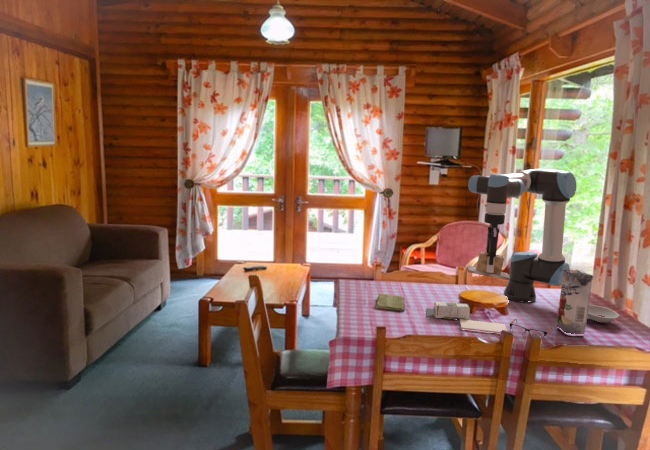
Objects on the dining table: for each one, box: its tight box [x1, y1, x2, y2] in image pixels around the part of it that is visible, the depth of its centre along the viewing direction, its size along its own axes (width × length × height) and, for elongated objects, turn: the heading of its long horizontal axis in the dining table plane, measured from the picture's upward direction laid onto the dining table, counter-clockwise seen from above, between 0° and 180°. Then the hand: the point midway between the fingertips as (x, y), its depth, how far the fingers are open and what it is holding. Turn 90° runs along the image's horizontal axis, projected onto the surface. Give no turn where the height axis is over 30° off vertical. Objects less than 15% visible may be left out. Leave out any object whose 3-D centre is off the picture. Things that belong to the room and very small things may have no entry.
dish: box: [587, 304, 620, 323], centre depth 225 cm, size 18×14×5 cm
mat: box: [425, 308, 446, 320], centre depth 225 cm, size 16×11×1 cm
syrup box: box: [432, 301, 471, 321], centre depth 221 cm, size 6×6×14 cm
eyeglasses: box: [509, 318, 553, 337], centre depth 210 cm, size 14×14×4 cm
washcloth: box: [375, 293, 406, 312], centre depth 235 cm, size 13×18×3 cm
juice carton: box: [556, 267, 594, 335], centre depth 208 cm, size 9×10×27 cm
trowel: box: [466, 251, 510, 282], centre depth 206 cm, size 16×8×8 cm, turn 79°
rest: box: [459, 319, 508, 333], centre depth 210 cm, size 18×10×1 cm, turn 78°
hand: (489, 270), depth 206 cm, fingers closed on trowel, 4 cm apart
